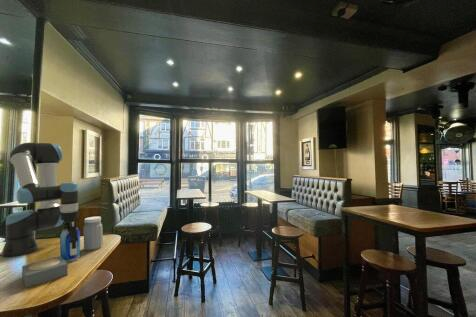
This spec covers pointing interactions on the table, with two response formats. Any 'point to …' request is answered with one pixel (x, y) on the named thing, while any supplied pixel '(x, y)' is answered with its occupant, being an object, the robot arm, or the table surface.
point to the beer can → (68, 246)
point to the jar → (93, 233)
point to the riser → (43, 271)
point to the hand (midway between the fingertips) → (70, 251)
